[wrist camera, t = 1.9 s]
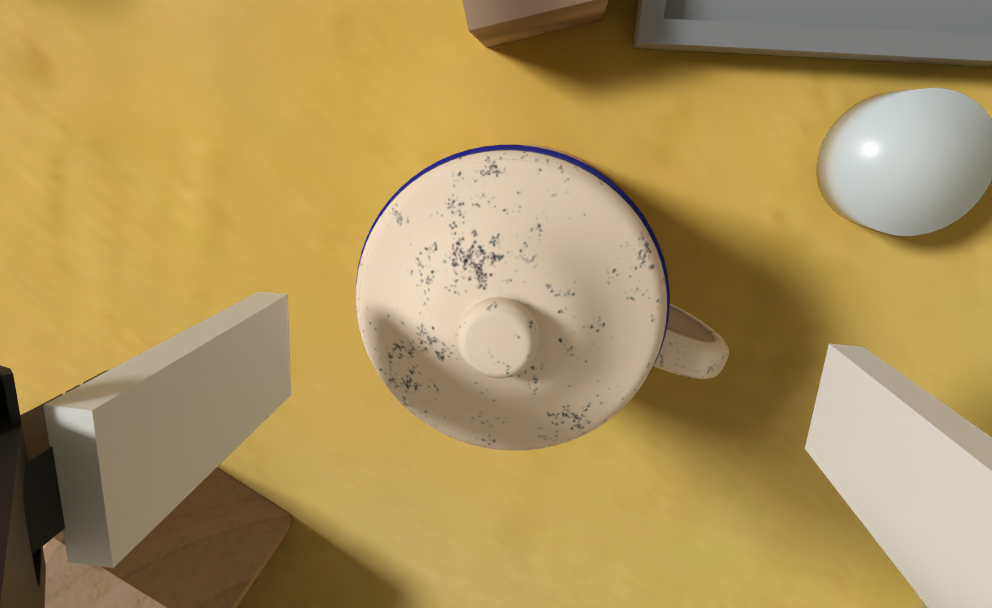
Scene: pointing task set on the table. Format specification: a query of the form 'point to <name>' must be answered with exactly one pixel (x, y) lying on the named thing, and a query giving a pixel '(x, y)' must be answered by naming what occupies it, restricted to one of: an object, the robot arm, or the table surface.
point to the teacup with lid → (520, 299)
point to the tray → (823, 29)
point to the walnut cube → (527, 17)
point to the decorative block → (179, 555)
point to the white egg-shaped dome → (907, 160)
